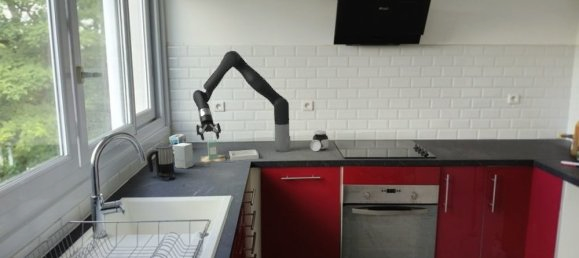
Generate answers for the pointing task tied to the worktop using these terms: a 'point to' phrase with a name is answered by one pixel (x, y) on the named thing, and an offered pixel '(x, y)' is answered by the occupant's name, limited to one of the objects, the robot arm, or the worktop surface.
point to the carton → (212, 150)
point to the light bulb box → (177, 139)
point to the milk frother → (162, 160)
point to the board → (206, 160)
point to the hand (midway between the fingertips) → (210, 139)
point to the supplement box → (183, 155)
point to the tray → (243, 155)
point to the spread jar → (320, 141)
